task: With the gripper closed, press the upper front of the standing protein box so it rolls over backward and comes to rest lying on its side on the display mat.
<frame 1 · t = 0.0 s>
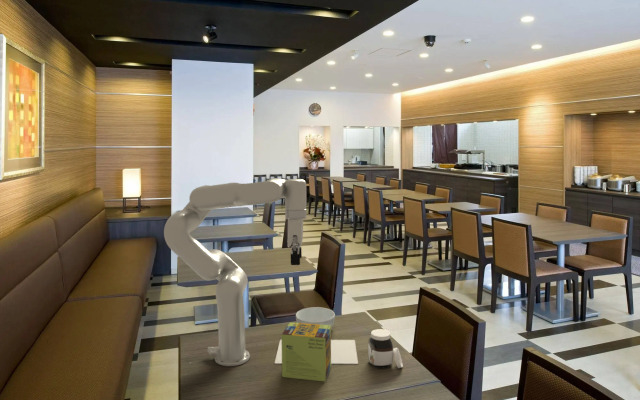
hand: (296, 261, 165), 37 cm above the table, tool pointing down, fingers open, 9 cm apart
protein box: (307, 372, 159), on the table, touching display mat
cereal bowl: (315, 330, 196), on the table
display mat: (316, 351, 175), on the table
spread jar: (386, 365, 165), on the table
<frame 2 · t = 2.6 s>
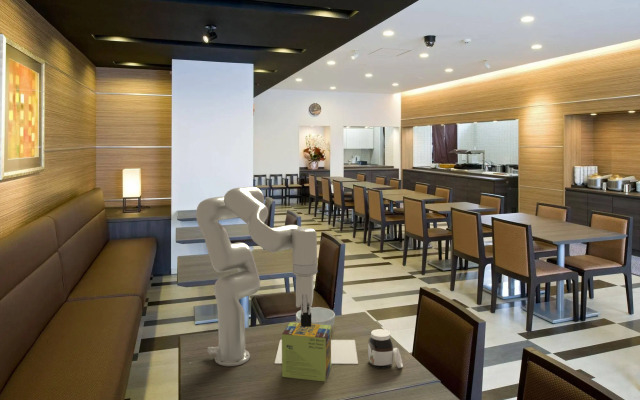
hand: (306, 325, 143), 22 cm above the table, tool pointing down, fingers closed
nothing on the table moved.
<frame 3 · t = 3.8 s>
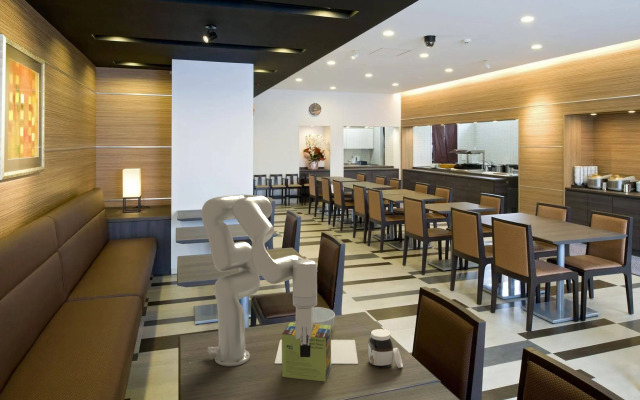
hand: (305, 355, 145), 12 cm above the table, tool pointing down, fingers closed
nothing on the table moved.
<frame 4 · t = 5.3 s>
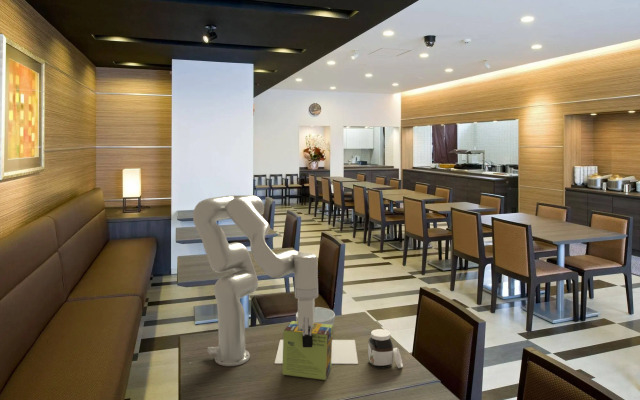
hand: (307, 346, 151), 13 cm above the table, tool pointing down, fingers closed
protein box: (307, 371, 159), on the table, touching display mat, gripper
everything else where it was.
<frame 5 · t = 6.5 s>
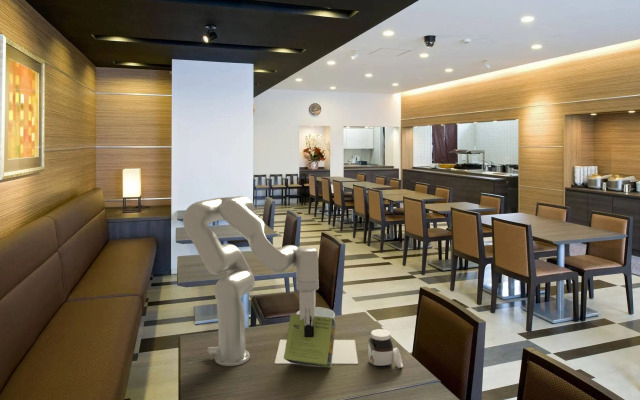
hand: (309, 336, 157), 13 cm above the table, tool pointing down, fingers closed
protein box: (307, 364, 159), point 3 cm above the table, touching display mat, gripper
everything else where it was.
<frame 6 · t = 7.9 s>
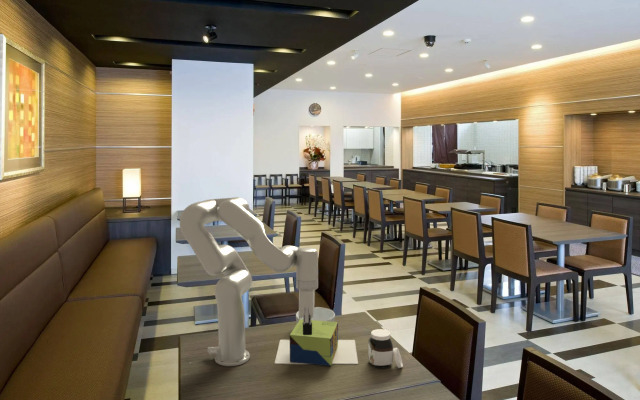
hand: (307, 334, 162), 12 cm above the table, tool pointing down, fingers closed
protein box: (310, 350, 163), point 6 cm above the table, touching display mat
everything else where it was.
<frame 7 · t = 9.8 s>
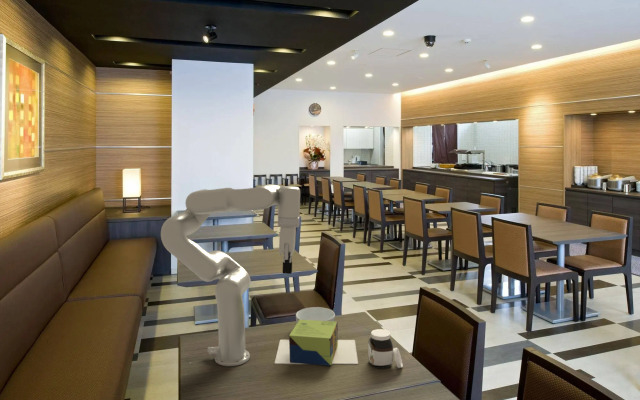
hand: (287, 272, 162), 33 cm above the table, tool pointing down, fingers closed
nothing on the table moved.
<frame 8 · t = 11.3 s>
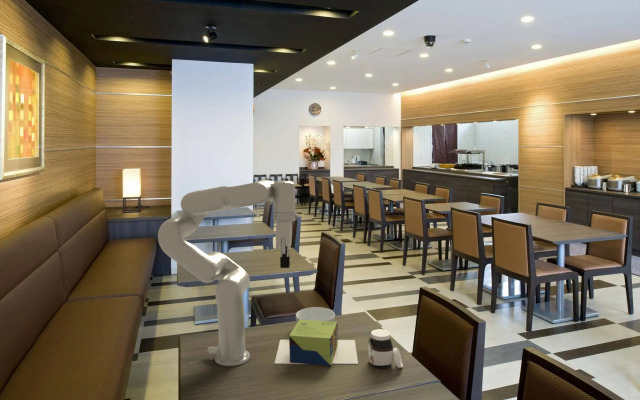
hand: (285, 267, 163), 35 cm above the table, tool pointing down, fingers closed
nothing on the table moved.
at the end: protein box tilted 89°; protein box inside the target area (4.2 cm from its centre), point 5.4 cm above the table; protein box touching display mat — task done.
